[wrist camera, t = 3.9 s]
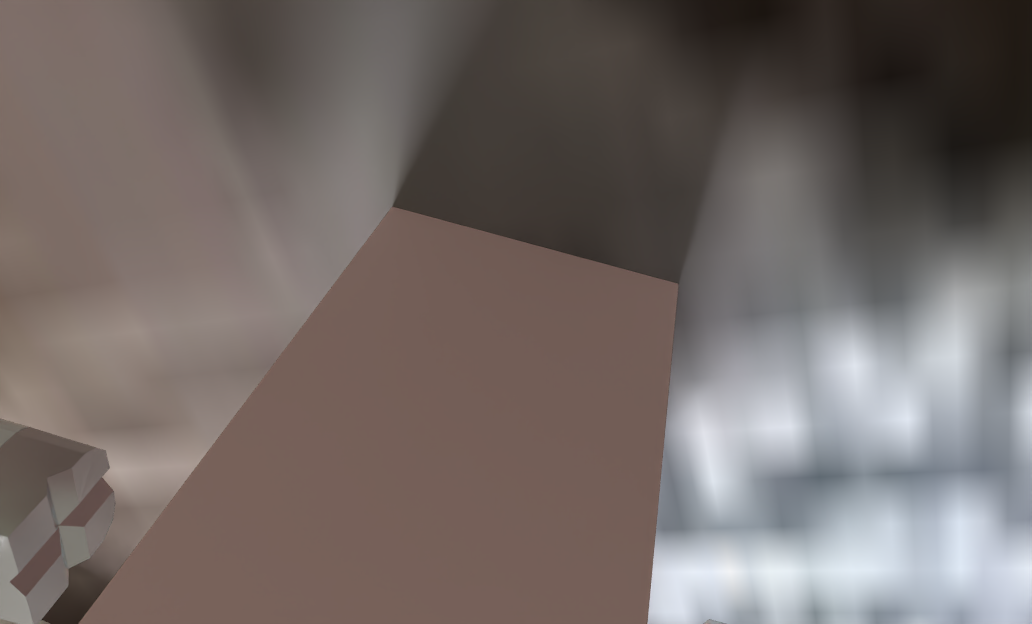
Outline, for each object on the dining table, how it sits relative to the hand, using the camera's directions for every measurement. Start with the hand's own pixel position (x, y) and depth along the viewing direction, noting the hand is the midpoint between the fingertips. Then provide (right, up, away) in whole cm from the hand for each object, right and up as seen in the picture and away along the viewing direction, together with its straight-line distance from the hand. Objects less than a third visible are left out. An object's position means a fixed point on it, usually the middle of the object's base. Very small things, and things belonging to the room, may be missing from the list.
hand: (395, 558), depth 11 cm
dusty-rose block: (+1, +3, +3) cm, 4 cm away
